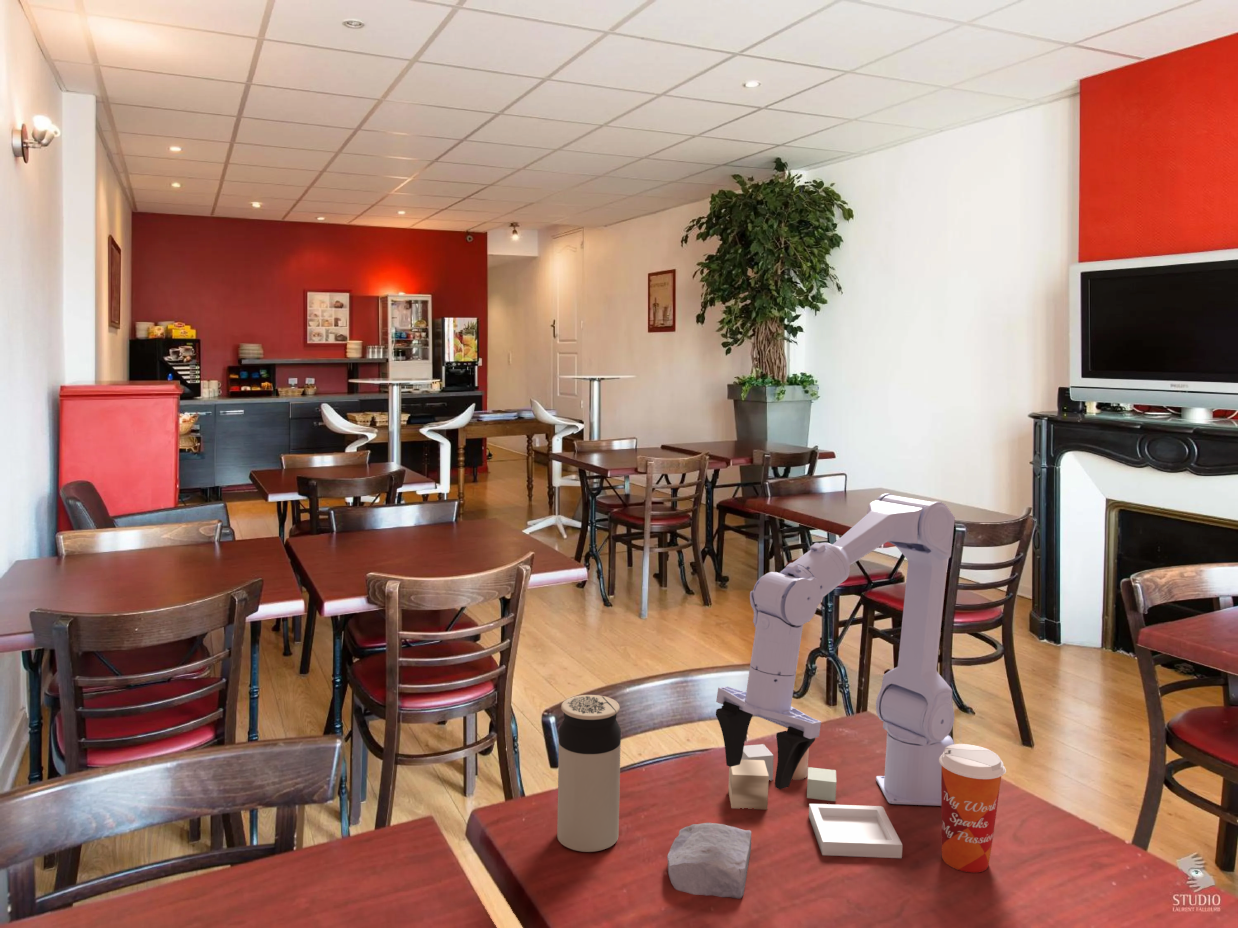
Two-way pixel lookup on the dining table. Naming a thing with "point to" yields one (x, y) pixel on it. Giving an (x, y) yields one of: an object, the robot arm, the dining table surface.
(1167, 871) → the dining table surface
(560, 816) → the travel mug
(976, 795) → the paper cup
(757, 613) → the robot arm
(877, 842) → the white square tray
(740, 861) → the stone block
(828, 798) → the sage block
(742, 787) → the beech cube
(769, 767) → the grey block
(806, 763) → the terracotta cylinder
